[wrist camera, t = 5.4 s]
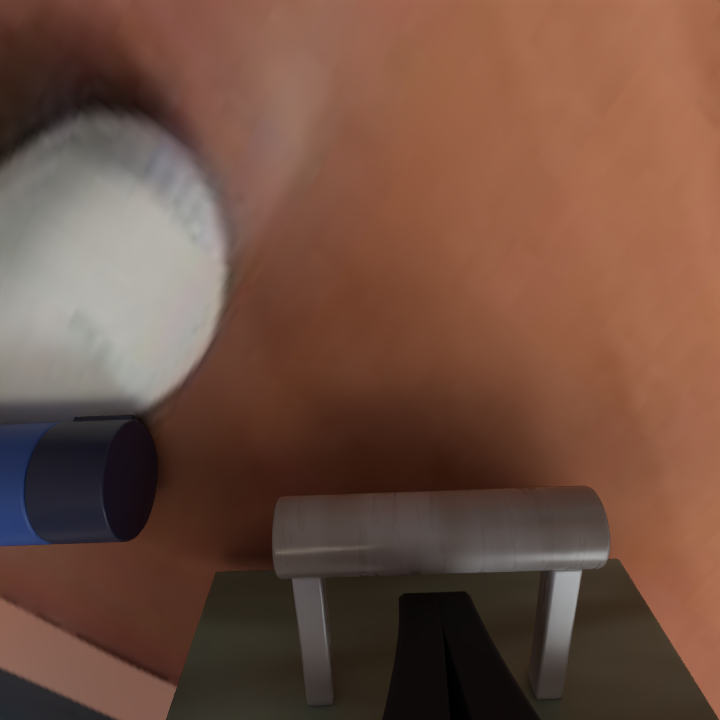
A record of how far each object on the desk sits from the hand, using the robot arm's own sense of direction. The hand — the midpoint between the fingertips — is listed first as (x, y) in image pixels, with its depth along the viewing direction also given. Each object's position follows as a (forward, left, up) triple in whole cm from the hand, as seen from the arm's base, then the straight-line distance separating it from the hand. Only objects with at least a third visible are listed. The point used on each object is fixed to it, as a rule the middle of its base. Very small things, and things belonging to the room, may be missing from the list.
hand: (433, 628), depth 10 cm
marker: (-8, -8, -3) cm, 12 cm away
